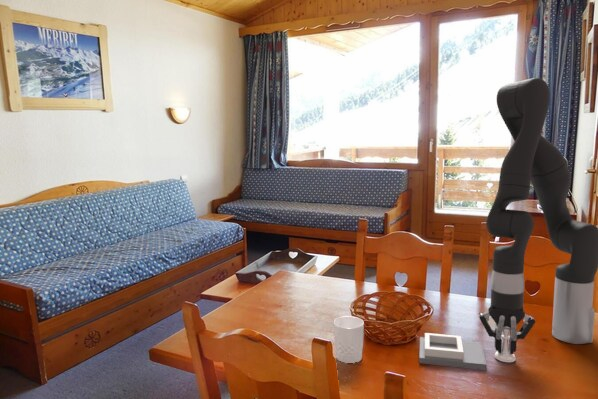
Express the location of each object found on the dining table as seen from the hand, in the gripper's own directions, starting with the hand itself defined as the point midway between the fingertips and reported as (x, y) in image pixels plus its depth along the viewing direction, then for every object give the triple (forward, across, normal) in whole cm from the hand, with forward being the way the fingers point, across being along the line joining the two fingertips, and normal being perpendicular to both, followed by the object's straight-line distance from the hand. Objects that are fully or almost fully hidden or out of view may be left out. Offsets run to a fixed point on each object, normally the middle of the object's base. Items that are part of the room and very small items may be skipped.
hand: (505, 351), depth 117 cm
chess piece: (+2, 0, 0) cm, 2 cm away
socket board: (+2, +13, +1) cm, 13 cm away
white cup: (+2, +39, +8) cm, 40 cm away
